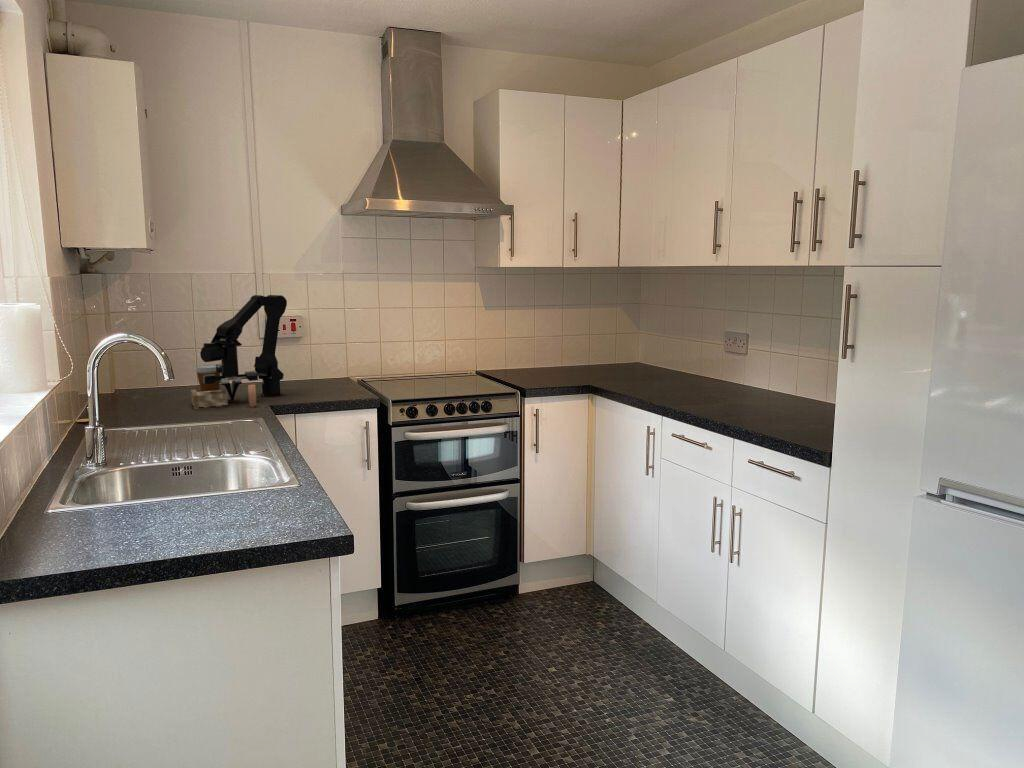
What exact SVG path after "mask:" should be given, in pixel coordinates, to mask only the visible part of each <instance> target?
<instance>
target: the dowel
mask: <svg viewBox="0 0 1024 768" xmlns="http://www.w3.org/2000/svg"><path fill="white" fill-rule="evenodd" d="M247 392H248V394H247V395H248V407H249V406H250V407H249V408H253V407H252V406H257V391H256V384H247Z"/></svg>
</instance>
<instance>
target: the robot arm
mask: <svg viewBox="0 0 1024 768" xmlns="http://www.w3.org/2000/svg"><path fill="white" fill-rule="evenodd" d="M287 306H288V301H287V299H286V297H285V296H284V295H282V294H281V295H280V294H279V295H277V294H268V295H267V296H266V295H265V296H264V295H262V294H259V295H258V294H254V295H252V296H251V297H250V298H249V300H248V301H247V302H246V303H245V304H244V305H243V306H242V307H241V309H240V310H239V311H238V312H237V313H236V314H235V315H234V316H233V317H232V318H230V319H227V320H225V321H224V322H223V323H221V324H220V325H219V326H217V328H216V330H215V331H216V332H215V334H214V336H213V338H212V340H211V342H210V343H209V342H206V343H204V342H203V346H202V347H201V350H200V352H199V355H200V358H201V360H202V362H204V363H211V362H217V361H220V362H221V363H218V364H217V363H215V365H216V373H221V374H220V376H215V374H205V375H204V376H203V382H204V384H214V383H215V382H216V381H220V386H224V387H225V389H226V392H227V395H229V399H230V401H234V399H235V396H236V393H237V390H238V388H239V385H242V384H243V382H242V380H248V381H249V382H251V381H252V382H253V381H255V382H256V381H258V380H262V381H261V383H260V389H261V390H260V391H261V395H263V396H264V397H272V396H282V392H281V381H282V380H283V379H284V376H285V375H284V373H283V372H282V371H281V370H280V369H279V361H278V359H277V356H276V349H277V341H278V337H279V335H278V334H279V329H280V320H281V318H282V316H283V315H284V314H285V312H286V309H287ZM262 307H263V310H264V313H265V316H266V321H265V327H264V335H263V342H262V349H261V350H262V351H261V354H260V355H259V356H255V358H254V364H253V368H254V370H251V371H244V373H241V374H240V373H239V360H238V347H240V346H242V345H243V344H242V343H241V342H239V340H238V339H239V337H240V336H241V334H242V333H243V329H244V326H245V325H246V324H247V323H248V322H249V321H250V320H251V319H252V318H253V317H254V315H255V314H257V312H258V311H259V310H260V309H261V308H262ZM230 381H231V383H230Z"/></svg>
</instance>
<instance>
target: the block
mask: <svg viewBox="0 0 1024 768" xmlns="http://www.w3.org/2000/svg"><path fill="white" fill-rule="evenodd" d="M196 392H197V394H198V400H199V407H204V408H211V407H210V406H216V407H223V406H222V405H229V403H228V402H229V401H228V392H227V390H225V389H220V390H216V391H203V392H201V391H196Z"/></svg>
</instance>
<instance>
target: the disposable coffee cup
mask: <svg viewBox="0 0 1024 768" xmlns="http://www.w3.org/2000/svg"><path fill="white" fill-rule="evenodd" d="M195 372H196V375H197V379H198V385H199V389H200V392H203V391H216V390H221V389H220V387H221V384H220V381H216V382H215V383H214V384H204V382H203V376H204V375H205V374H215V376H221V373H216V364H202V365H197V366H196V368H195Z"/></svg>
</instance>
